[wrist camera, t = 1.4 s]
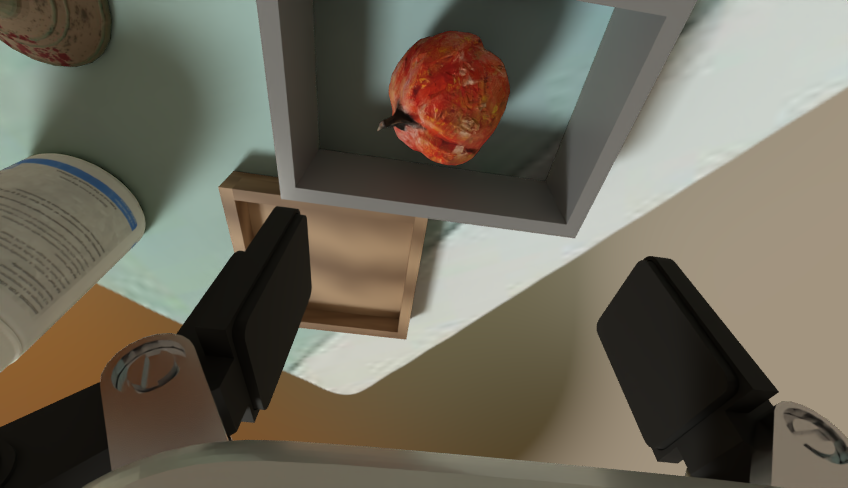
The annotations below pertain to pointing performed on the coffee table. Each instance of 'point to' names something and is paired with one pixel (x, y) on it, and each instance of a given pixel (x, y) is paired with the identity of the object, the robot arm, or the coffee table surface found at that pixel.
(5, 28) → the candlestick holder
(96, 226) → the supplement tub
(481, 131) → the pomegranate
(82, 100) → the coffee table surface
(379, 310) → the tray
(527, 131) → the coffee table surface
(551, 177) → the grey open box
